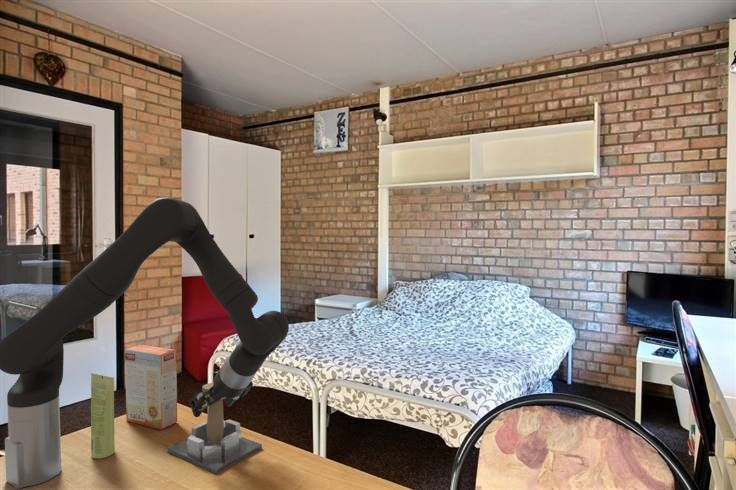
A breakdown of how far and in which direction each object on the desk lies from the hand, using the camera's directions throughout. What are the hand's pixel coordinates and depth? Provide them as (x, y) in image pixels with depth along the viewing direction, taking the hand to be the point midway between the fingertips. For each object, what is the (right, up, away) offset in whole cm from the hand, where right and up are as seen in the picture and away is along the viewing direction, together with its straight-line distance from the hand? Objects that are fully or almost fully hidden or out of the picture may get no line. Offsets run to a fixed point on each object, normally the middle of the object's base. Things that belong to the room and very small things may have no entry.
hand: (211, 408), depth 113 cm
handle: (+1, -9, -1) cm, 9 cm away
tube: (-25, -10, -3) cm, 27 cm away
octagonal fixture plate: (+1, -10, 0) cm, 10 cm away
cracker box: (-22, -10, +15) cm, 29 cm away
